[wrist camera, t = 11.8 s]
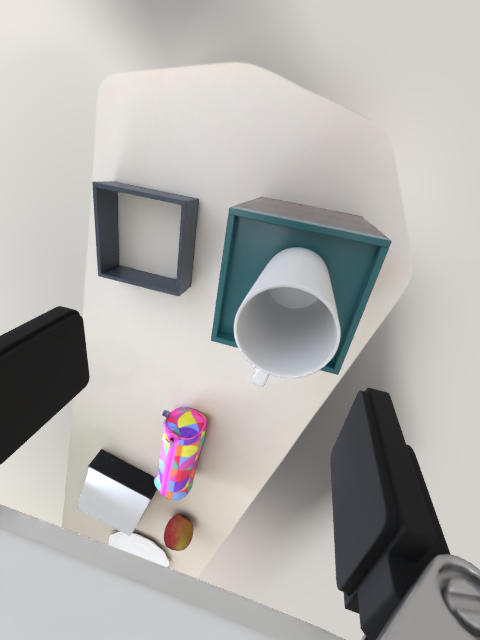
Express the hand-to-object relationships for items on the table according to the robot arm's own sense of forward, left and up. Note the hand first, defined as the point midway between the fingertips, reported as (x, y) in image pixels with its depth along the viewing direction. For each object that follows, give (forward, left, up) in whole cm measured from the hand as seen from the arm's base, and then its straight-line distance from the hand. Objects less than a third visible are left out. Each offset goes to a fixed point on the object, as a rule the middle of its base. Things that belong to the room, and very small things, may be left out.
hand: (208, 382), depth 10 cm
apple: (+81, -10, -38) cm, 90 cm away
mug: (+4, +2, -21) cm, 22 cm away
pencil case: (+50, -12, -38) cm, 64 cm away
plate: (+106, -23, -38) cm, 115 cm away
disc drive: (+77, -29, -38) cm, 91 cm away
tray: (+4, +2, -22) cm, 22 cm away
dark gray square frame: (+6, -21, -38) cm, 44 cm away
